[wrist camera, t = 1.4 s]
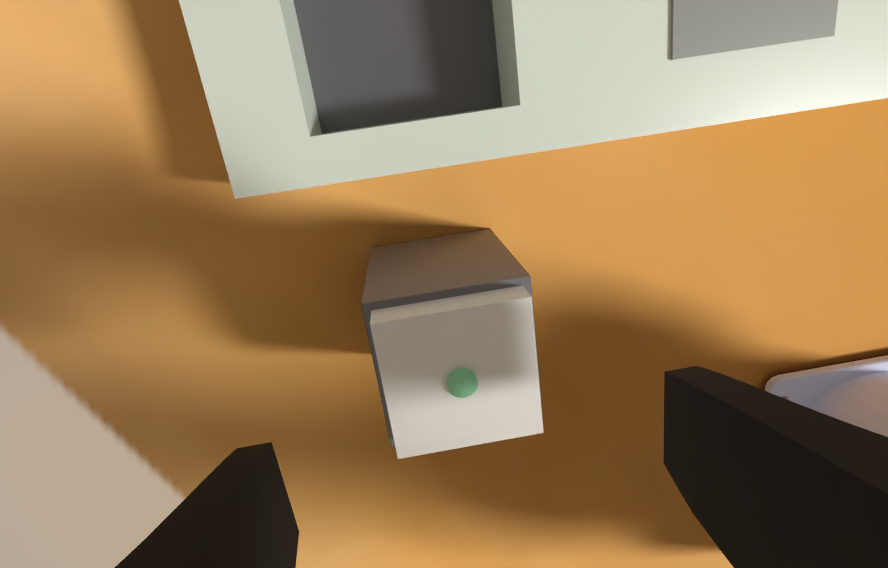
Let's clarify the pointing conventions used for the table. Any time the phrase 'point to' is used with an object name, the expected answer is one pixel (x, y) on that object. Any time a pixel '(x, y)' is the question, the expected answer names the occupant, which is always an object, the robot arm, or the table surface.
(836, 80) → the power strip
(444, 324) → the plug
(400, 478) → the table surface
